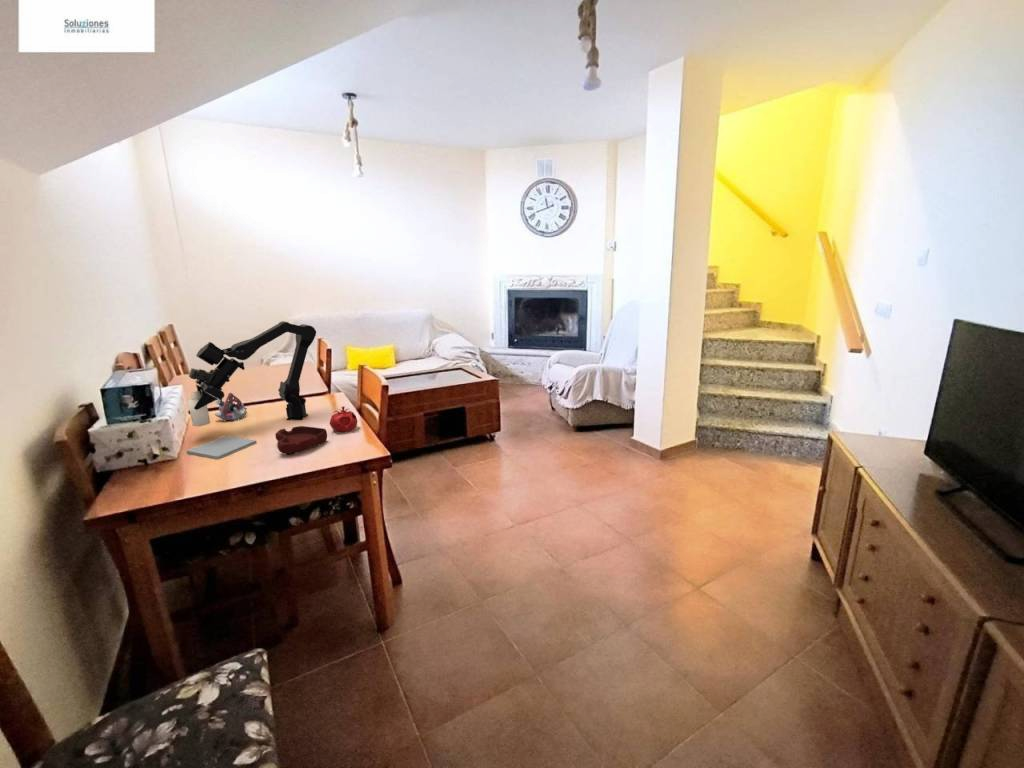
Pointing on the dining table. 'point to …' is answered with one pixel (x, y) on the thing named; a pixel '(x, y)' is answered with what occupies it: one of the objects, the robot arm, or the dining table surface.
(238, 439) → the board
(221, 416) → the grey red pointed piece
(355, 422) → the pomegranate
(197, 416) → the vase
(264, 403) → the dining table surface
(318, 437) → the ashtray
